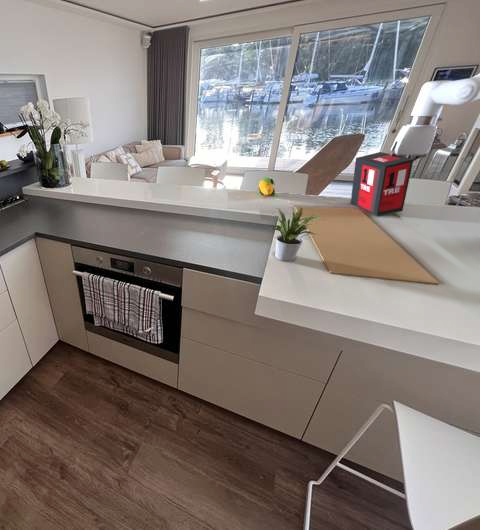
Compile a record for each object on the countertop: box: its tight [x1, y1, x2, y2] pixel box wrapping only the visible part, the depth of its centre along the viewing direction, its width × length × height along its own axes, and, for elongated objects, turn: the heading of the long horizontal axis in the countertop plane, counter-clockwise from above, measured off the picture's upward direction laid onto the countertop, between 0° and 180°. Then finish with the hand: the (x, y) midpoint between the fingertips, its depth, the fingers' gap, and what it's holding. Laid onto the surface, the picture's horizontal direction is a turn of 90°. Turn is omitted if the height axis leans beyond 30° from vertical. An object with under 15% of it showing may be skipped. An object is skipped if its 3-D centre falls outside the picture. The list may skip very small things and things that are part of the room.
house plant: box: [270, 206, 324, 262], centre depth 85 cm, size 14×14×16 cm
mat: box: [294, 205, 440, 285], centre depth 101 cm, size 24×58×1 cm, turn 161°
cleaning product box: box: [350, 151, 414, 217], centre depth 115 cm, size 16×9×20 cm, turn 176°
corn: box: [258, 177, 276, 197], centre depth 144 cm, size 7×8×20 cm
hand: (400, 173), depth 112 cm, fingers closed
